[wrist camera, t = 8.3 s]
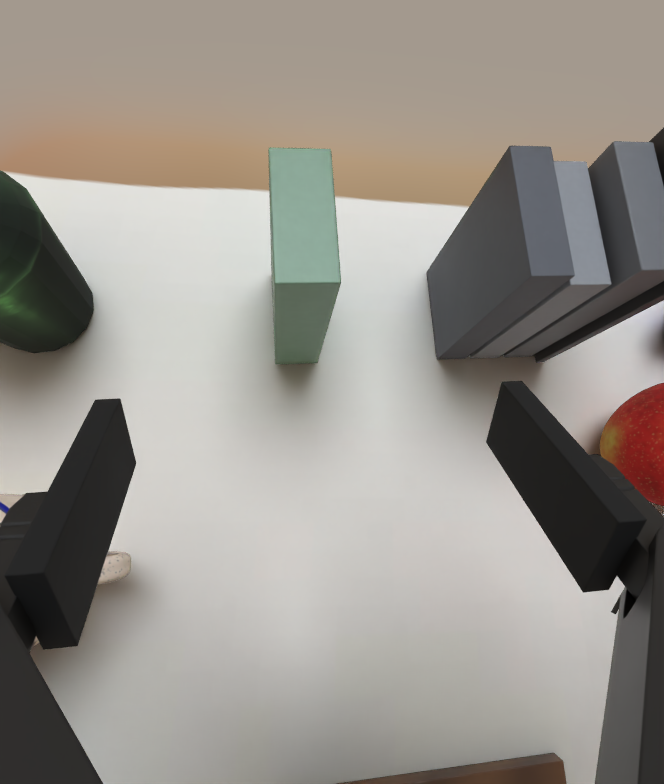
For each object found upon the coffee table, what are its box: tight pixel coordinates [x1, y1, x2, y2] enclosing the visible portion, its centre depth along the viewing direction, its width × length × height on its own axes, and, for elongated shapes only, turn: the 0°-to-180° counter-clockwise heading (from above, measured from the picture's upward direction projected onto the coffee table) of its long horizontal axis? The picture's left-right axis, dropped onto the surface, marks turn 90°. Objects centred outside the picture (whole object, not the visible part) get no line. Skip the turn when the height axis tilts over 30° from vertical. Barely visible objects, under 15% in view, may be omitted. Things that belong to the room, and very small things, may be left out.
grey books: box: [427, 128, 664, 363], centre depth 29 cm, size 8×8×15 cm
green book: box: [269, 148, 341, 364], centre depth 28 cm, size 3×7×13 cm, turn 4°
